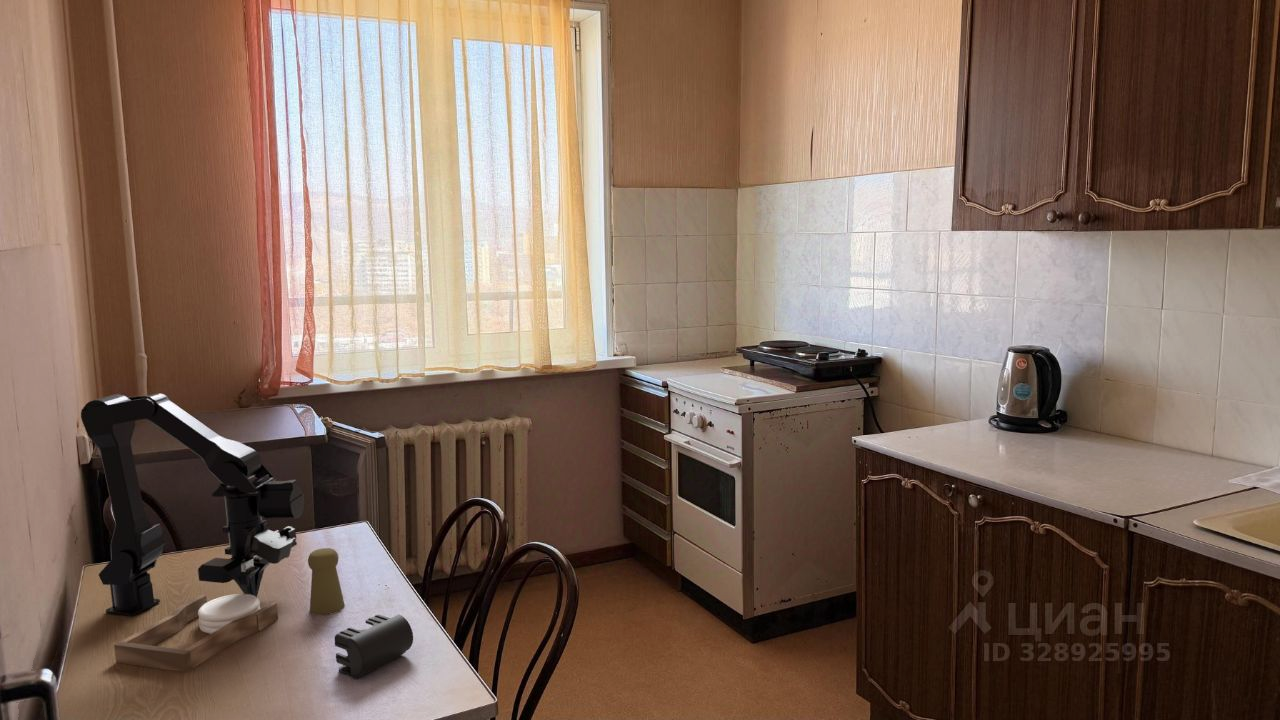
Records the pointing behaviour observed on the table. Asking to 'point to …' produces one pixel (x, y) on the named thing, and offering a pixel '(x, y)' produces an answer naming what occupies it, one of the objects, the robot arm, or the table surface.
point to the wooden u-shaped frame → (146, 654)
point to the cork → (325, 582)
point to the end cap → (373, 644)
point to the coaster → (226, 611)
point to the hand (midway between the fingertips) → (252, 600)
